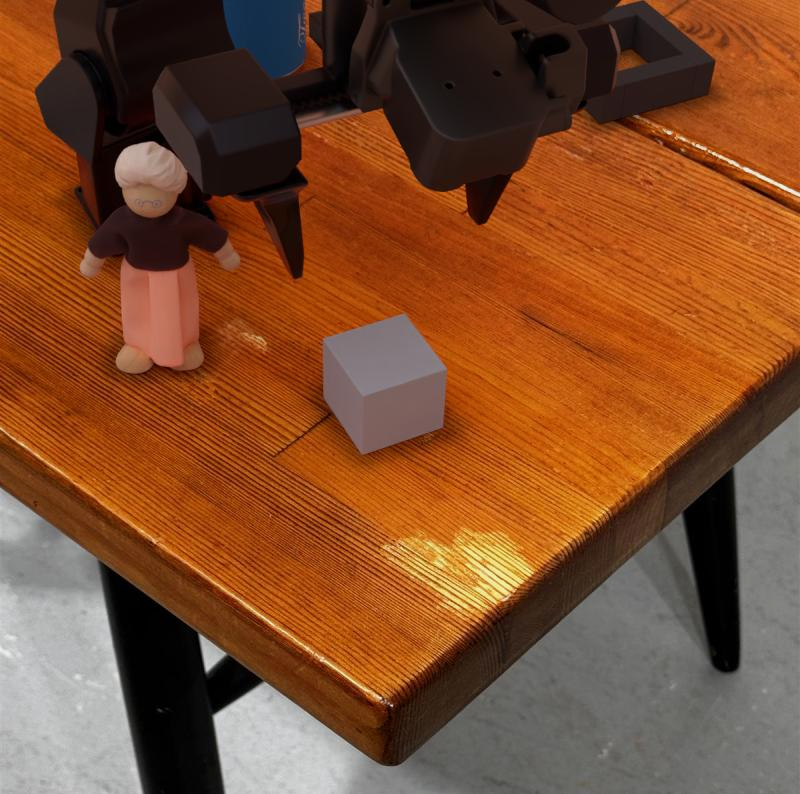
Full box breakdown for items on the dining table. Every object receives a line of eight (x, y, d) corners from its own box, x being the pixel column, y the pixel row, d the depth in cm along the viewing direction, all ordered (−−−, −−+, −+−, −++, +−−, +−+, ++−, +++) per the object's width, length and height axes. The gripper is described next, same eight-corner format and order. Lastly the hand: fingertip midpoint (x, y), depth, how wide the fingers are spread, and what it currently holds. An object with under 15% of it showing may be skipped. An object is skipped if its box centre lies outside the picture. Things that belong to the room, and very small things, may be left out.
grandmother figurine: (102, 392, 73) (68, 182, 64) (91, 343, 76) (56, 134, 67) (252, 366, 75) (239, 158, 66) (236, 319, 77) (222, 112, 68)
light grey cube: (361, 455, 71) (362, 396, 68) (322, 398, 73) (322, 338, 71) (443, 428, 72) (447, 368, 69) (402, 372, 75) (404, 312, 72)
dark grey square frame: (600, 124, 91) (605, 89, 89) (533, 60, 96) (536, 25, 94) (709, 94, 94) (716, 59, 92) (638, 33, 99) (643, -1, 97)
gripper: (250, 72, 46) (268, 423, 57) (731, -43, 52) (661, 294, 64) (129, -79, 53) (166, 262, 64) (568, -166, 59) (531, 160, 70)
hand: (387, 246), depth 65 cm, fingers open, 9 cm apart
